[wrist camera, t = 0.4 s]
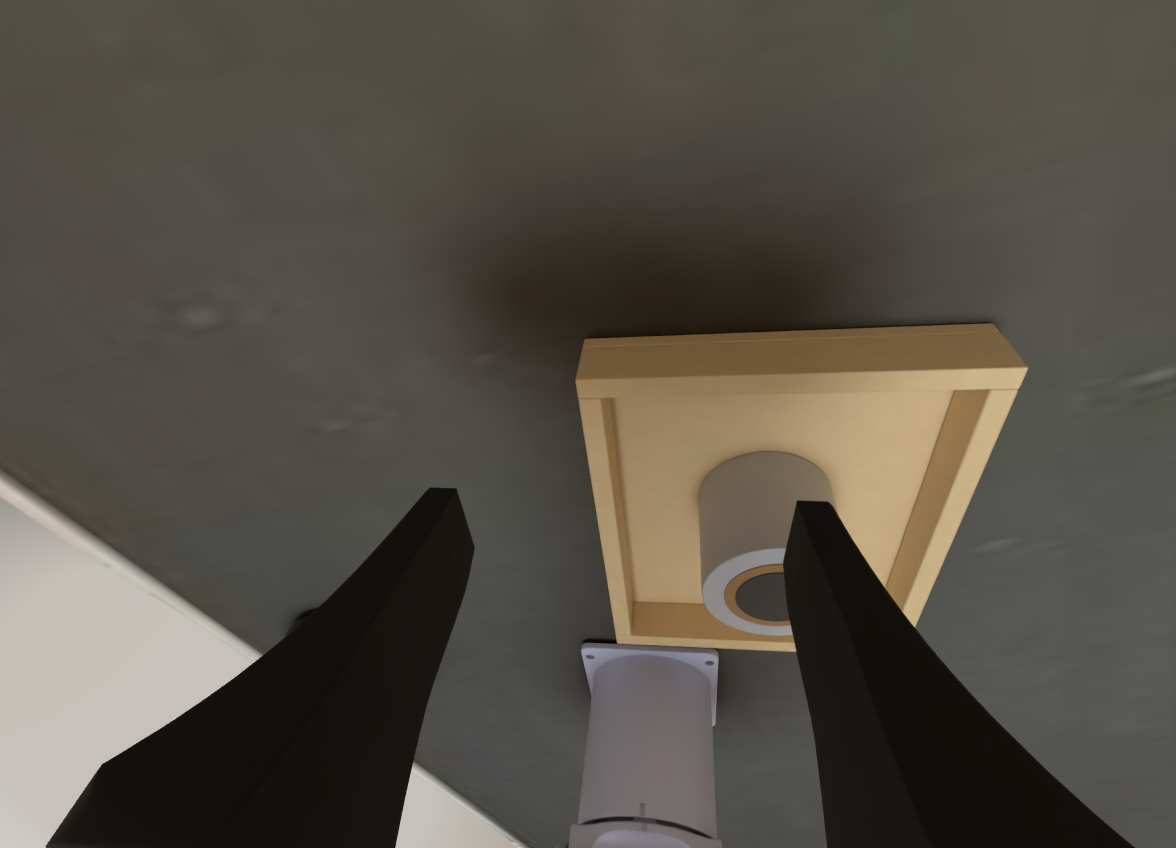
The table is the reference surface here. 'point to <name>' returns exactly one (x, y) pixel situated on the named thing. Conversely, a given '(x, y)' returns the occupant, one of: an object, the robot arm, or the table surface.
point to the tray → (786, 451)
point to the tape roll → (752, 536)
